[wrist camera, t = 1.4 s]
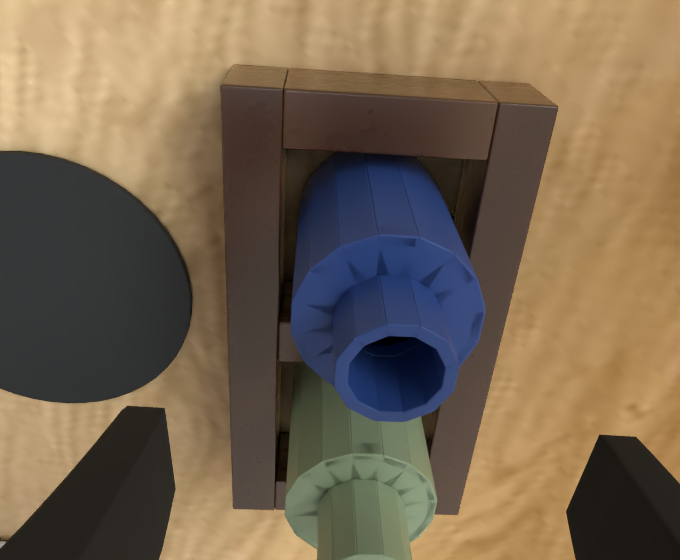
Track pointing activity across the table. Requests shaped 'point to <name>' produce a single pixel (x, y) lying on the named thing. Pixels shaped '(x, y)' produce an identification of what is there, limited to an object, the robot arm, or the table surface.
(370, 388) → the blue bottle
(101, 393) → the coaster
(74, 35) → the table surface
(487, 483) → the table surface
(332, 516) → the sage bottle
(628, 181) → the table surface
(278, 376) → the bottle rack
